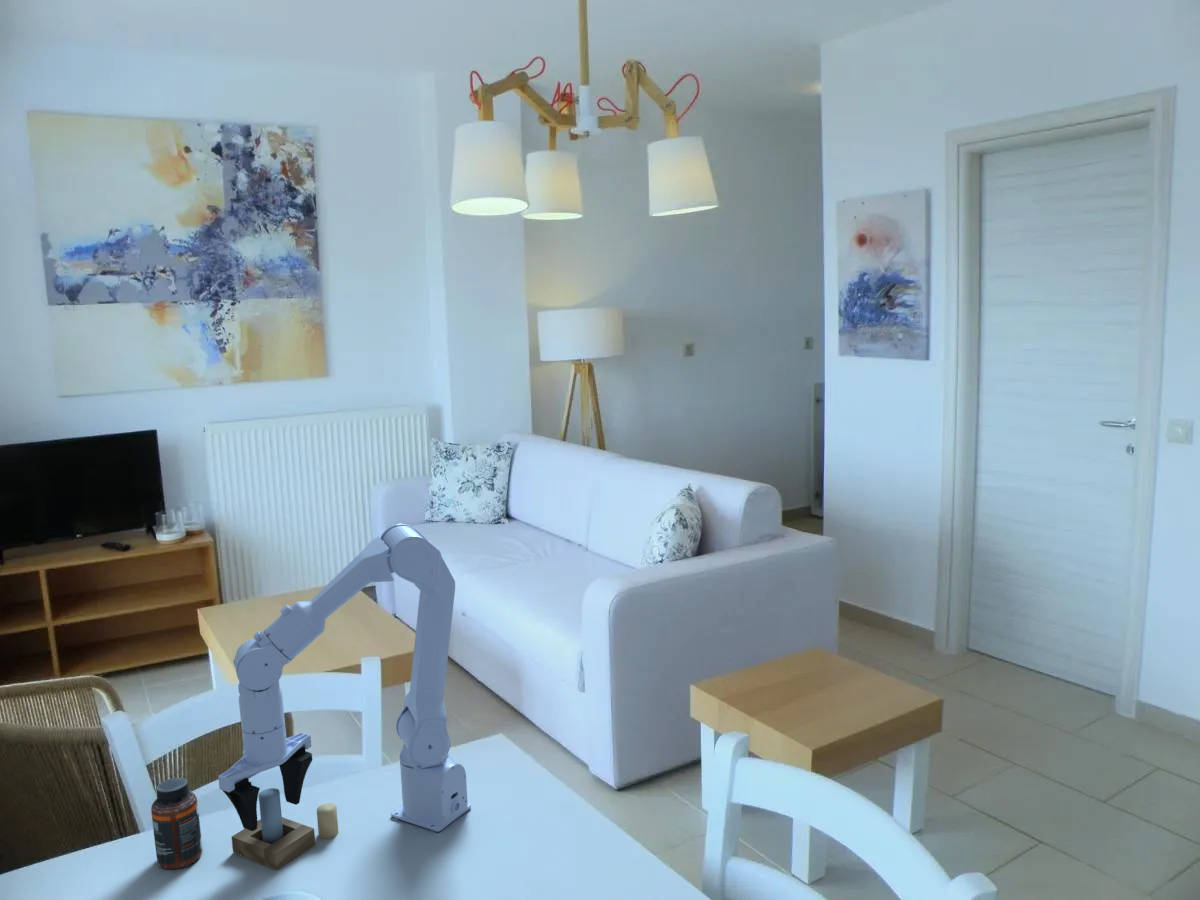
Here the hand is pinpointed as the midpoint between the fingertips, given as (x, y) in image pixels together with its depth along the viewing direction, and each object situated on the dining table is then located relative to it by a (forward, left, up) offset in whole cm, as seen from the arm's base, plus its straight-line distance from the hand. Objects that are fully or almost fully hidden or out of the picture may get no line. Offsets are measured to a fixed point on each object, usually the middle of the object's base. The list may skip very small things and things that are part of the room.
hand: (272, 814), depth 134 cm
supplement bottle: (+10, +8, -5) cm, 14 cm away
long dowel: (0, 0, -5) cm, 5 cm away
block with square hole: (0, 0, -5) cm, 5 cm away
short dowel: (-4, -6, -5) cm, 9 cm away
